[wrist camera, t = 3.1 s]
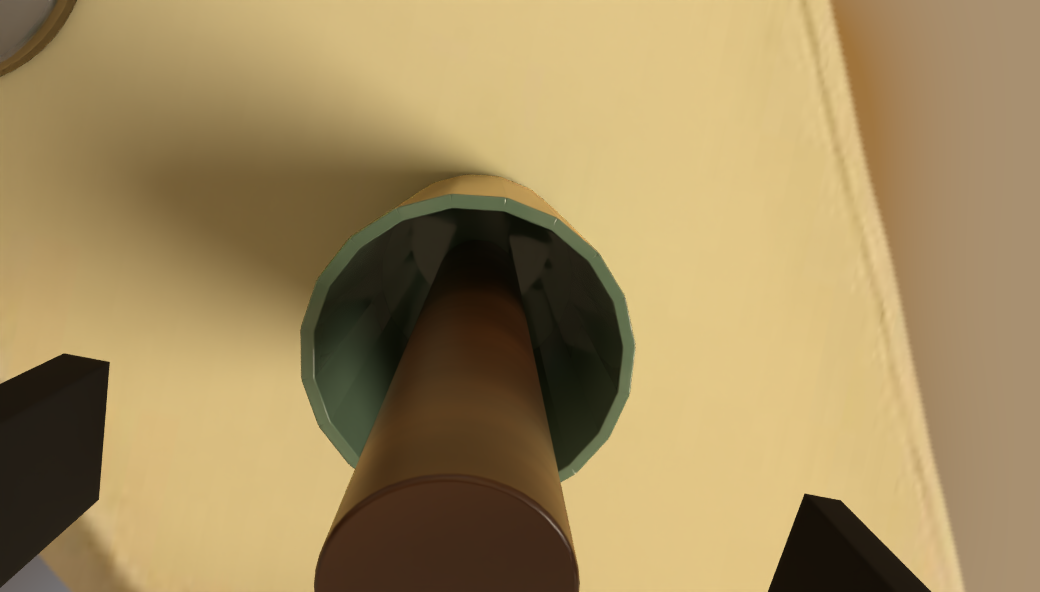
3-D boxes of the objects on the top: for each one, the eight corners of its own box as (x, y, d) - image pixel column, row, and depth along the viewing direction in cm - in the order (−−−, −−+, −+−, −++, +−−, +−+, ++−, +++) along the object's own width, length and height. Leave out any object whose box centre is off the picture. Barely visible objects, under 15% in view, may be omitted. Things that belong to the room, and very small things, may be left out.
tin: (335, 246, 29) (229, 315, 17) (508, 133, 28) (522, 125, 16) (449, 405, 31) (425, 562, 19) (613, 306, 30) (691, 406, 18)
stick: (422, 267, 29) (255, 565, 8) (489, 224, 28) (488, 426, 8) (466, 331, 30) (413, 743, 9) (531, 290, 29) (628, 624, 9)
